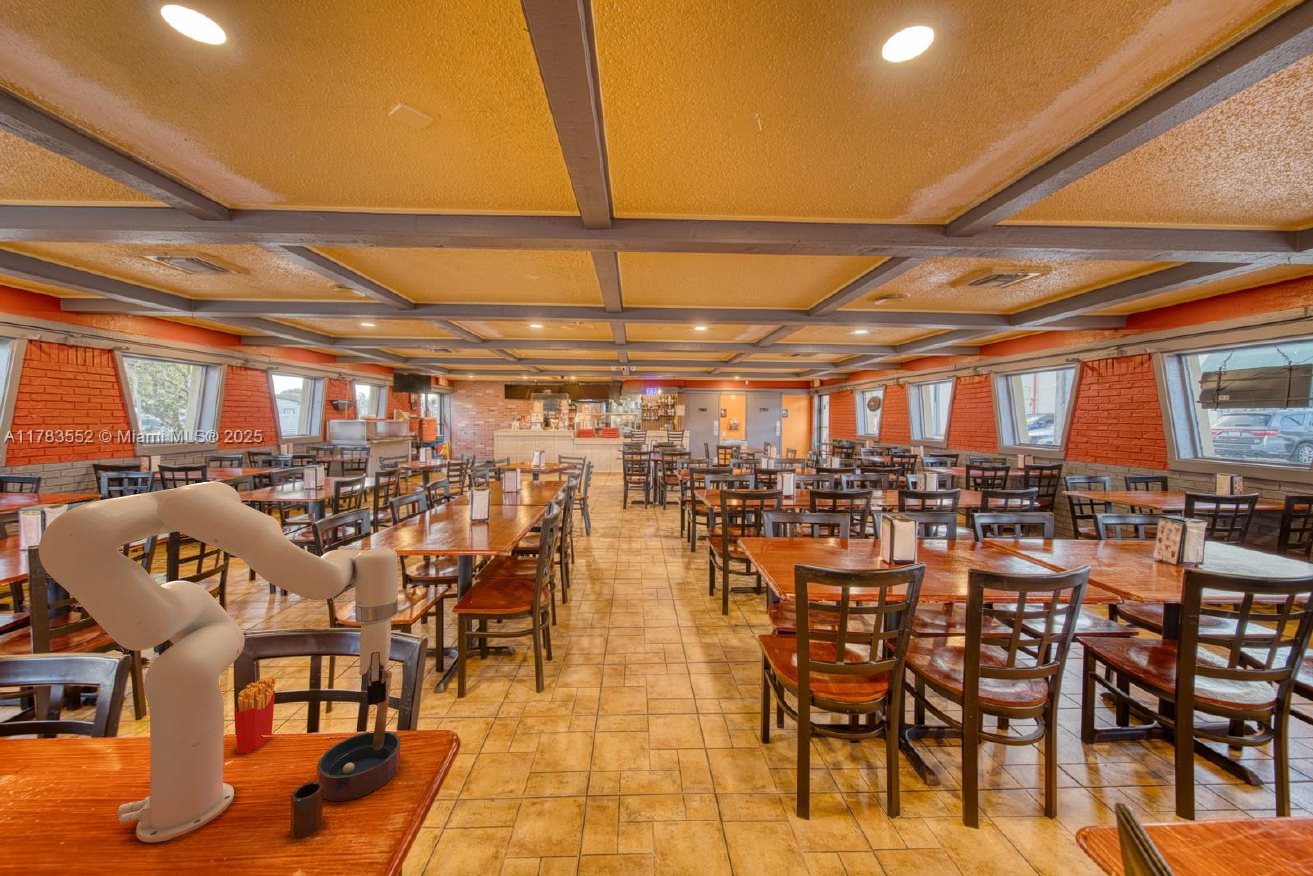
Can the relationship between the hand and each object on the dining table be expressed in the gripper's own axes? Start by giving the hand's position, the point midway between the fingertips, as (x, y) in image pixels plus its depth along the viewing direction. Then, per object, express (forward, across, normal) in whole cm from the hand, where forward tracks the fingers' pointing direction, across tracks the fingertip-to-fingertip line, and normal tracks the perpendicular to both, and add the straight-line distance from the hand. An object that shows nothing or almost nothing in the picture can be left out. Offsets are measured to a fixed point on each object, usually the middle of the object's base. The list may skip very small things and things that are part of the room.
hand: (377, 698), depth 96 cm
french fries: (+15, -23, -25) cm, 37 cm away
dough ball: (+14, -1, -5) cm, 15 cm away
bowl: (+15, 0, -3) cm, 15 cm away
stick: (+11, 0, 0) cm, 11 cm away
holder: (+15, +11, -10) cm, 21 cm away
